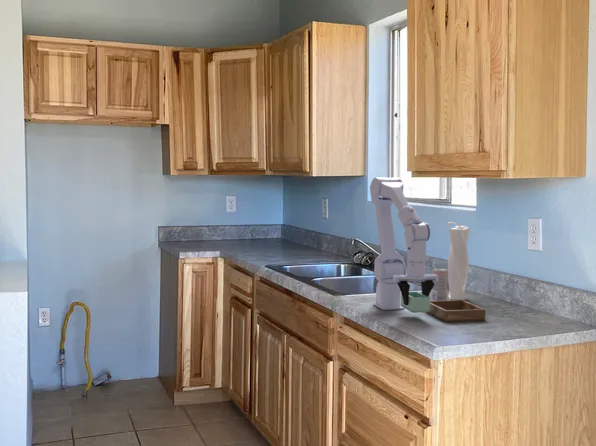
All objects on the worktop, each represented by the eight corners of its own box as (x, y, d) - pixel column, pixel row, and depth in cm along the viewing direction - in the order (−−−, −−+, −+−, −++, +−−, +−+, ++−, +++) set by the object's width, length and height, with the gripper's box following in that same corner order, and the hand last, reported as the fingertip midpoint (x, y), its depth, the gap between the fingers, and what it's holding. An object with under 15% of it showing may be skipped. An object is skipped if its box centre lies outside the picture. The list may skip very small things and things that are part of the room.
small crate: (400, 305, 221) (401, 292, 220) (416, 305, 222) (417, 291, 222) (412, 312, 211) (413, 298, 211) (429, 312, 212) (430, 297, 212)
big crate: (425, 311, 227) (425, 301, 227) (462, 310, 230) (462, 299, 230) (445, 322, 212) (445, 311, 212) (484, 320, 215) (485, 309, 215)
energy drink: (444, 301, 244) (445, 268, 243) (448, 304, 239) (449, 270, 238) (429, 301, 244) (430, 268, 243) (433, 304, 238) (434, 270, 237)
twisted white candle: (447, 300, 247) (450, 222, 244) (443, 296, 254) (445, 220, 252) (469, 300, 247) (472, 222, 244) (464, 296, 254) (467, 221, 252)
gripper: (399, 263, 210) (398, 307, 211) (443, 263, 213) (441, 306, 214) (391, 260, 217) (389, 303, 218) (433, 259, 220) (432, 301, 221)
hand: (415, 304), depth 216 cm, fingers closed on small crate, 5 cm apart
